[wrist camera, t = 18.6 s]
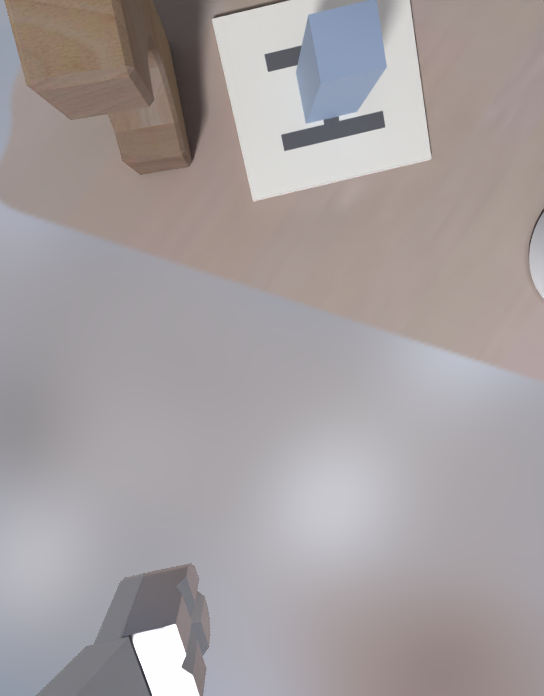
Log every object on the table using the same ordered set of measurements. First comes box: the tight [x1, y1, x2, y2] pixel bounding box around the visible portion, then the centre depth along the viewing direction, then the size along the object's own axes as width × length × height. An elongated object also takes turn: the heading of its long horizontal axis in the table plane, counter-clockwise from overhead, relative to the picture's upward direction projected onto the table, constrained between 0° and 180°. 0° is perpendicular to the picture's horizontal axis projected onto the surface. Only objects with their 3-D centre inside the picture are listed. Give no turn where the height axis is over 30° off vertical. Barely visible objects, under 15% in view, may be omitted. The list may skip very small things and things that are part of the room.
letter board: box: [212, 0, 431, 201], centre depth 39 cm, size 18×16×1 cm
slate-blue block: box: [296, 0, 387, 124], centre depth 34 cm, size 5×4×9 cm
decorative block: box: [5, 0, 192, 175], centre depth 29 cm, size 11×6×20 cm, turn 8°
